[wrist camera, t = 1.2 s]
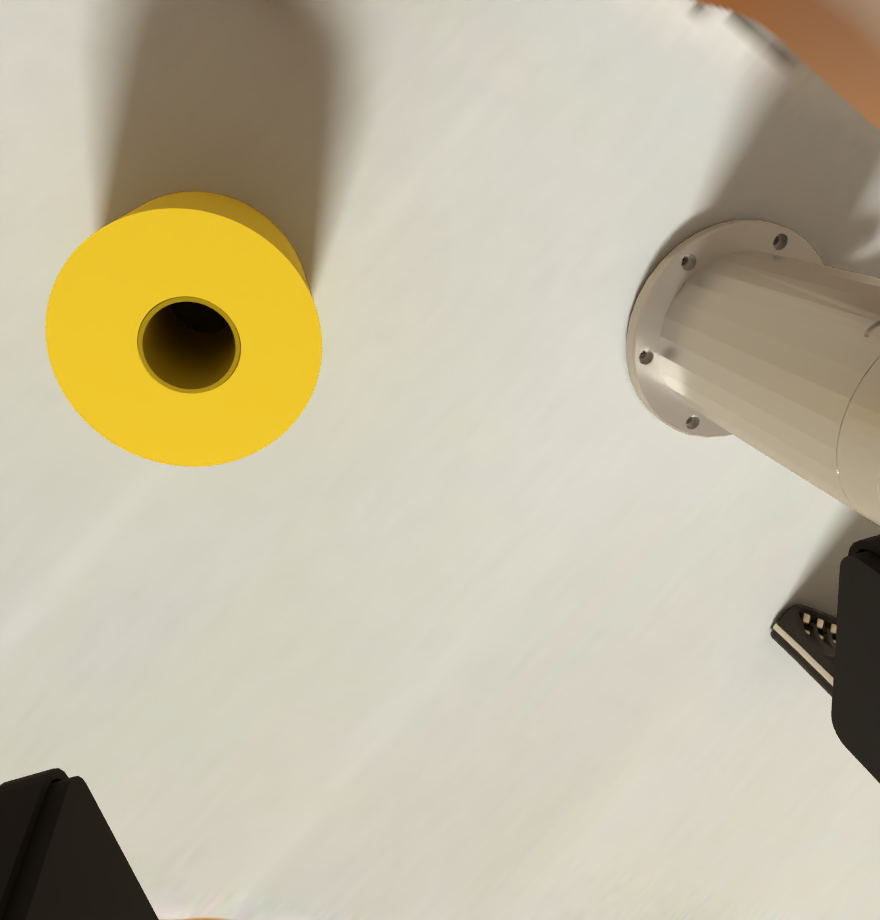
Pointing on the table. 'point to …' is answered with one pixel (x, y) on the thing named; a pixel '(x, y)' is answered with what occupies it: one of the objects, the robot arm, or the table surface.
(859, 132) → the table surface
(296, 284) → the tape roll
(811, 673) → the battery charger
